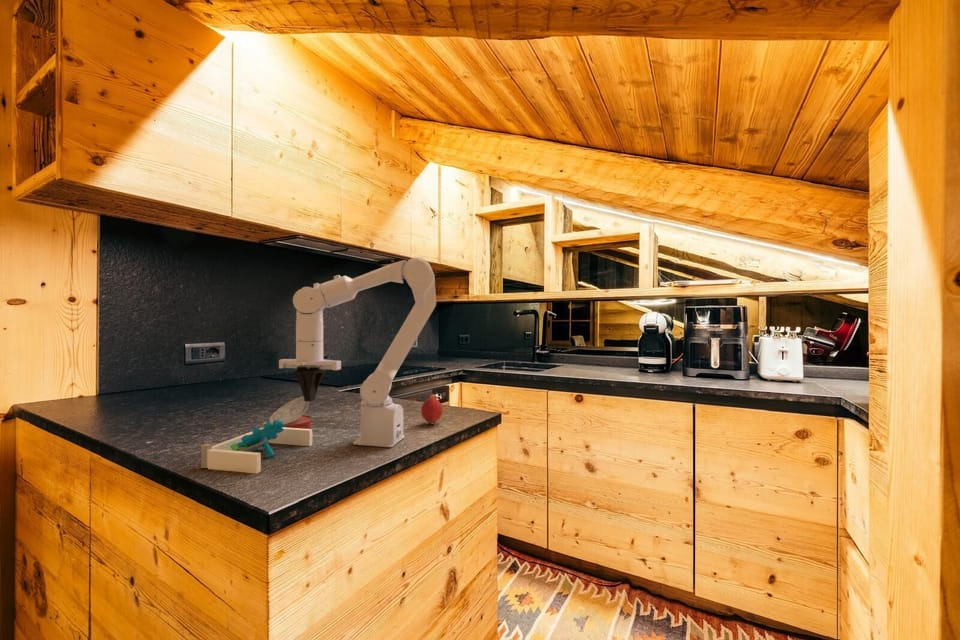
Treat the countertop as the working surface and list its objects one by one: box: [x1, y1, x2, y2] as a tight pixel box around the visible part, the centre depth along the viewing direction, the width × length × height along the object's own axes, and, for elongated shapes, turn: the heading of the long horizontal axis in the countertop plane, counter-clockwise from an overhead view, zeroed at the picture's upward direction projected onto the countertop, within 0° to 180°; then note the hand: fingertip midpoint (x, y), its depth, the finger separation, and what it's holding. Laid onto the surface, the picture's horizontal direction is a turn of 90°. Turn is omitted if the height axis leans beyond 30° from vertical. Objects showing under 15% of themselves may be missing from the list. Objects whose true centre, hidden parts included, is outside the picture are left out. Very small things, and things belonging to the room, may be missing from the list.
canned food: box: [268, 395, 312, 429], centre depth 102 cm, size 11×10×10 cm
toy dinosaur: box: [230, 420, 285, 458], centre depth 83 cm, size 11×6×10 cm
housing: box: [200, 421, 313, 475], centre depth 84 cm, size 12×17×4 cm
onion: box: [420, 394, 444, 424], centre depth 109 cm, size 6×6×8 cm
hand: (309, 400), depth 92 cm, fingers closed
